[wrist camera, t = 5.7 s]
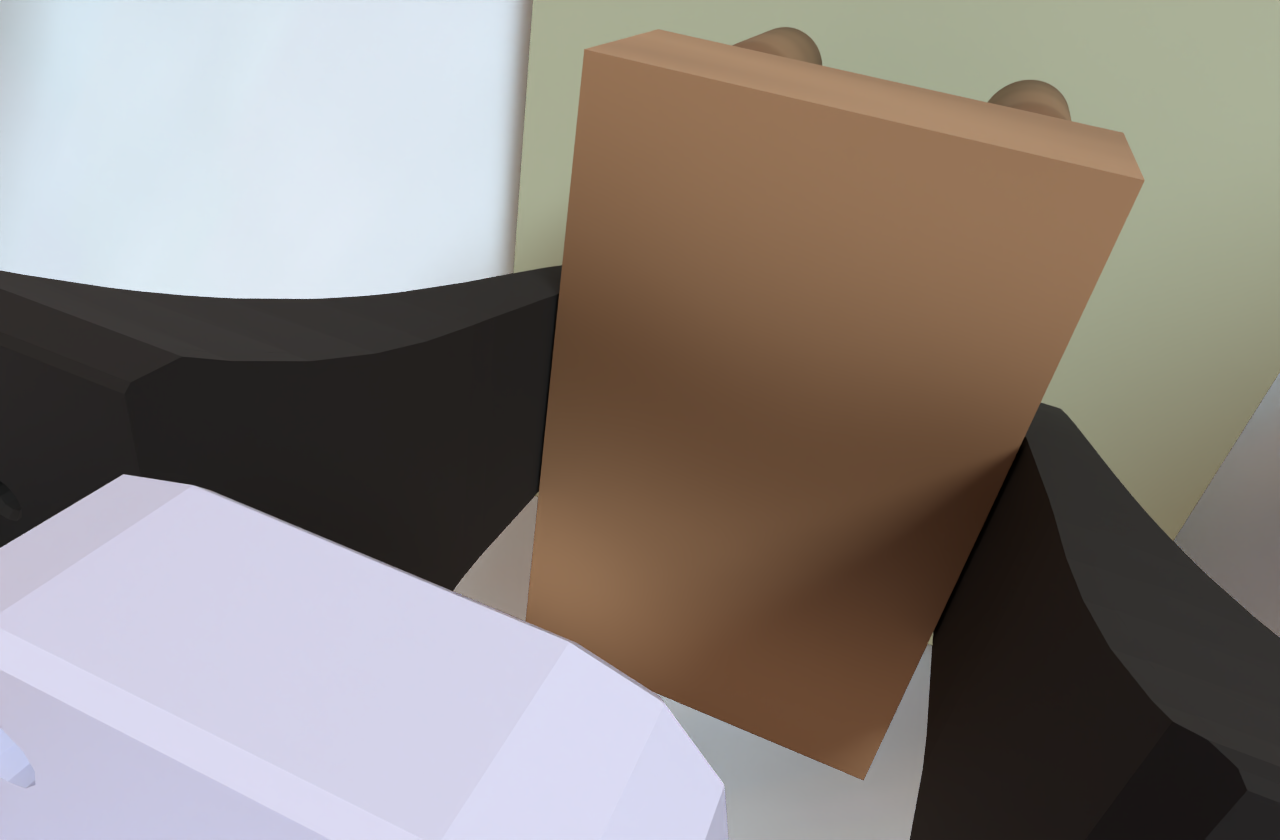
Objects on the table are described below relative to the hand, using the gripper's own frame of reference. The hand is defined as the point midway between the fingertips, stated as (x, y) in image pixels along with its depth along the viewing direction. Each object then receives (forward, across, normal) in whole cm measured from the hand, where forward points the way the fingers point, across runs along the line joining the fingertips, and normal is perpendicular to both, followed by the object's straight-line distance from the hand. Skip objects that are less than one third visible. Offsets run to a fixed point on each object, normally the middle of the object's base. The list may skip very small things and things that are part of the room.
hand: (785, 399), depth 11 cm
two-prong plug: (+4, 0, 0) cm, 4 cm away
